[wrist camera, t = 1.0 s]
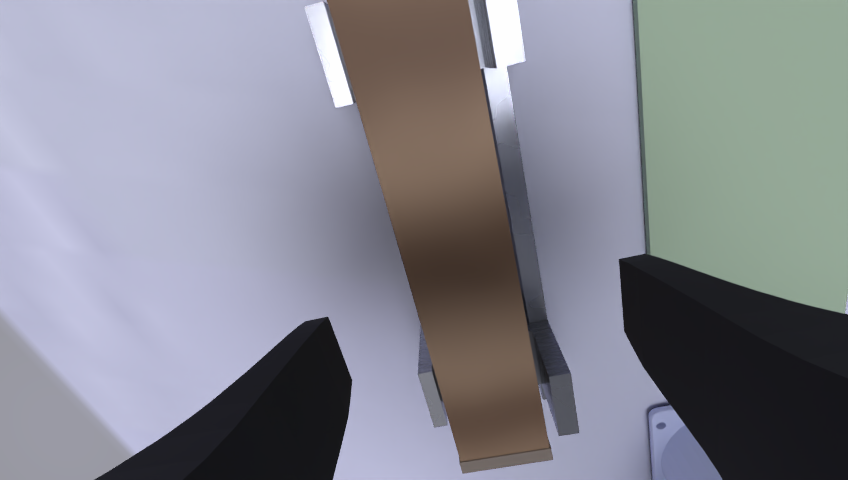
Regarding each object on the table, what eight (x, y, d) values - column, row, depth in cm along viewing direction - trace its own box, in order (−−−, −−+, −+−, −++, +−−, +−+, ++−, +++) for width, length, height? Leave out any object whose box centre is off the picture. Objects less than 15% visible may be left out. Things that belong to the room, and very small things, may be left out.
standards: (547, 364, 23) (583, 460, 18) (440, 384, 24) (442, 481, 18) (475, -67, 16) (497, -137, 10) (323, -22, 16) (267, -65, 11)
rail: (533, 394, 20) (553, 459, 17) (458, 407, 21) (462, 473, 17) (450, -45, 14) (455, -81, 10) (342, -14, 14) (313, -38, 11)
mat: (832, 345, 22) (839, 350, 22) (653, 375, 23) (657, 381, 23) (894, -121, 15) (906, -126, 15) (630, -47, 16) (634, -50, 16)
